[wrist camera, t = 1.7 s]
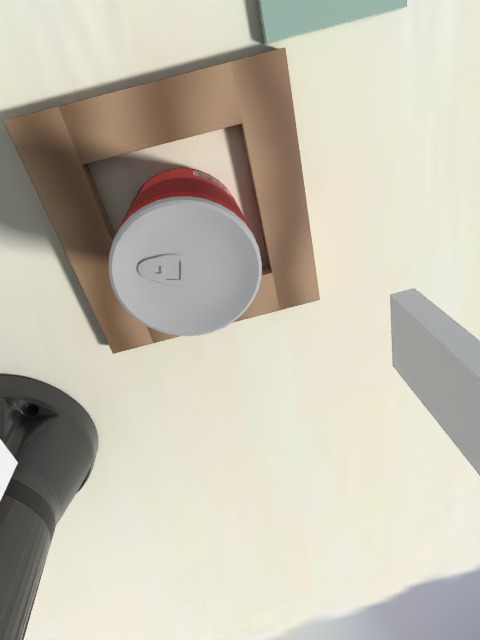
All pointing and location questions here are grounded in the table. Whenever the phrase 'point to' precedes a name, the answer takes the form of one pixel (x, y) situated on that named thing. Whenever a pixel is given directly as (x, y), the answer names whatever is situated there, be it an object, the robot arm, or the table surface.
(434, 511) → the table surface
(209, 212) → the canned food
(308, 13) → the plate
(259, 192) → the pocket board
